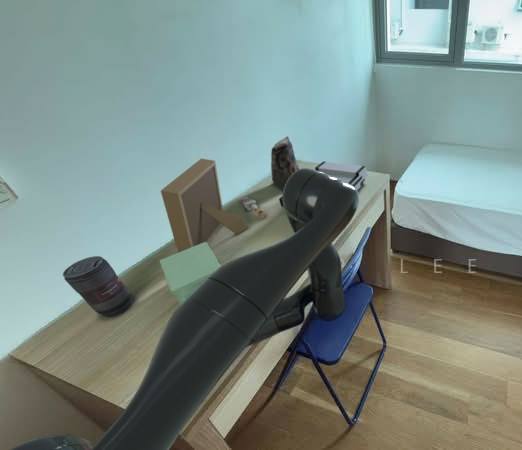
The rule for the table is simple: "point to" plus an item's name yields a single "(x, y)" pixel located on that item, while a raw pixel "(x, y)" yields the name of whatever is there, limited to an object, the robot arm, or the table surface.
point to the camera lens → (99, 286)
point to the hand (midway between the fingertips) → (166, 357)
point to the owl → (282, 162)
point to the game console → (342, 174)
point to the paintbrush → (252, 205)
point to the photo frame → (197, 206)
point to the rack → (189, 269)
